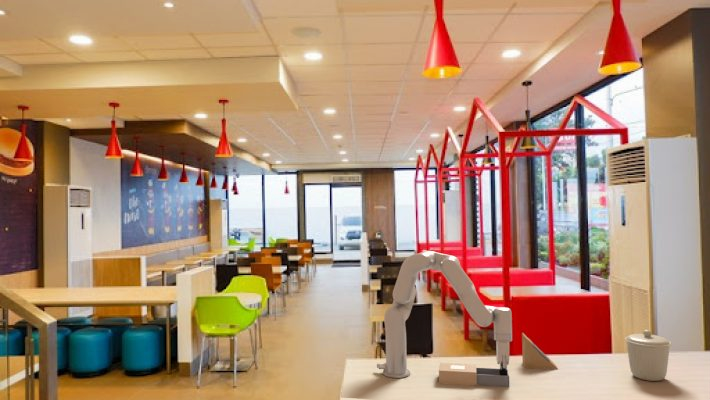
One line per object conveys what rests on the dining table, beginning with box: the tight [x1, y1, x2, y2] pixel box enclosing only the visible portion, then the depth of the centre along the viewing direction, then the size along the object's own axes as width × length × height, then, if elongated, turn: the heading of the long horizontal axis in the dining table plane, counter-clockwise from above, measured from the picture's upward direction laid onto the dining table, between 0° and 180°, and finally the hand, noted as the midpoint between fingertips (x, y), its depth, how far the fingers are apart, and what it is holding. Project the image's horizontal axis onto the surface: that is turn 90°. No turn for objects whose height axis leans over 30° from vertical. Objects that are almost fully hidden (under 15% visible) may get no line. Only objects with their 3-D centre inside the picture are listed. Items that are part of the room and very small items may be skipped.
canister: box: [624, 329, 672, 382], centre depth 229 cm, size 18×18×21 cm
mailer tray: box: [476, 367, 510, 388], centre depth 225 cm, size 15×9×4 cm, turn 78°
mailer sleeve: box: [438, 362, 478, 386], centre depth 228 cm, size 16×11×6 cm
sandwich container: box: [521, 332, 559, 370], centre depth 247 cm, size 9×15×15 cm, turn 80°
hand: (503, 378), depth 224 cm, fingers closed
